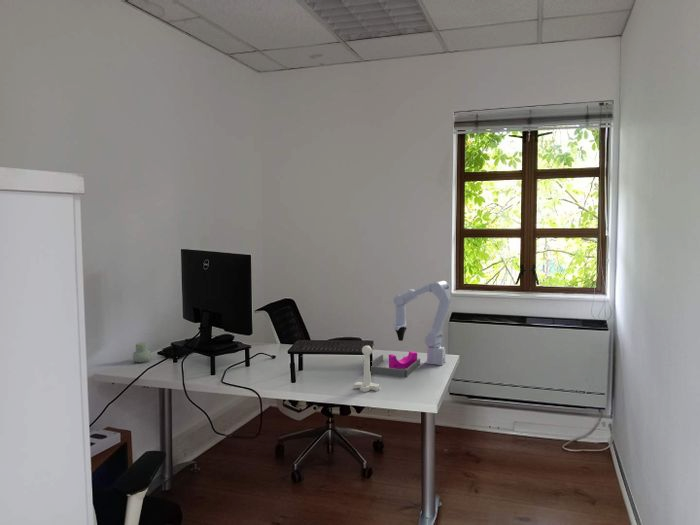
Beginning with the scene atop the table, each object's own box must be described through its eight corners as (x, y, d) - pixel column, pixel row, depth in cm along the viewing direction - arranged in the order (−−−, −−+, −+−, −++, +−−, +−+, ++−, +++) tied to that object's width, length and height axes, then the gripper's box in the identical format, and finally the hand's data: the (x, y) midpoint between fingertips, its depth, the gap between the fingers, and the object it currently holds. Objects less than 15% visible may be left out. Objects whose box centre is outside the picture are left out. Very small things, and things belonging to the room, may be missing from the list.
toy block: (410, 363, 284) (410, 350, 283) (417, 366, 279) (417, 352, 278) (386, 367, 278) (386, 353, 277) (392, 370, 272) (392, 356, 271)
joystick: (380, 388, 244) (380, 345, 242) (375, 393, 236) (375, 349, 235) (357, 386, 247) (356, 343, 246) (351, 391, 240) (351, 347, 239)
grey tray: (420, 365, 280) (420, 358, 280) (406, 377, 260) (406, 370, 259) (381, 361, 289) (381, 354, 289) (365, 372, 269) (365, 365, 268)
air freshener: (148, 363, 290) (147, 345, 289) (132, 364, 288) (131, 346, 287) (151, 358, 300) (150, 340, 300) (135, 359, 299) (134, 341, 298)
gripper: (398, 313, 304) (398, 337, 305) (389, 318, 290) (389, 342, 292) (410, 314, 301) (410, 338, 302) (401, 319, 288) (401, 343, 289)
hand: (400, 340), depth 297 cm, fingers closed
